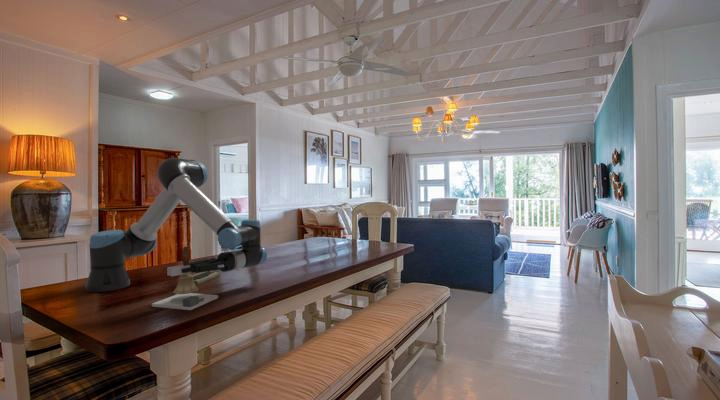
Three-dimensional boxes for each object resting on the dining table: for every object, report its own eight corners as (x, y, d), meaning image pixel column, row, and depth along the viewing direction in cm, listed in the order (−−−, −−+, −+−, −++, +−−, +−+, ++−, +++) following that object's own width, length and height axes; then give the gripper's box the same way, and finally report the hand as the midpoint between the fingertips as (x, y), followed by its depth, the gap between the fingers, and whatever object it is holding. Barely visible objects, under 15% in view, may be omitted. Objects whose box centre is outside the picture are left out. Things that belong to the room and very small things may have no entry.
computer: (197, 286, 151) (197, 278, 151) (181, 285, 153) (181, 277, 153) (219, 277, 166) (219, 270, 166) (204, 276, 168) (204, 269, 168)
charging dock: (151, 306, 123) (151, 296, 123) (182, 295, 136) (182, 286, 136) (190, 310, 118) (190, 300, 118) (218, 297, 132) (217, 288, 132)
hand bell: (182, 288, 132) (181, 245, 131) (203, 288, 131) (202, 245, 130) (167, 294, 124) (166, 248, 123) (189, 294, 122) (188, 248, 122)
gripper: (242, 272, 137) (180, 285, 118) (220, 268, 146) (160, 279, 127) (241, 253, 137) (179, 263, 118) (220, 249, 146) (159, 258, 127)
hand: (169, 271), depth 123 cm, fingers closed on hand bell, 2 cm apart
